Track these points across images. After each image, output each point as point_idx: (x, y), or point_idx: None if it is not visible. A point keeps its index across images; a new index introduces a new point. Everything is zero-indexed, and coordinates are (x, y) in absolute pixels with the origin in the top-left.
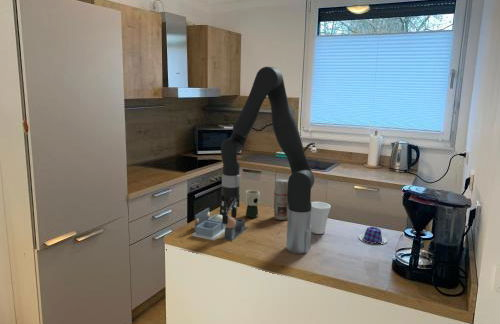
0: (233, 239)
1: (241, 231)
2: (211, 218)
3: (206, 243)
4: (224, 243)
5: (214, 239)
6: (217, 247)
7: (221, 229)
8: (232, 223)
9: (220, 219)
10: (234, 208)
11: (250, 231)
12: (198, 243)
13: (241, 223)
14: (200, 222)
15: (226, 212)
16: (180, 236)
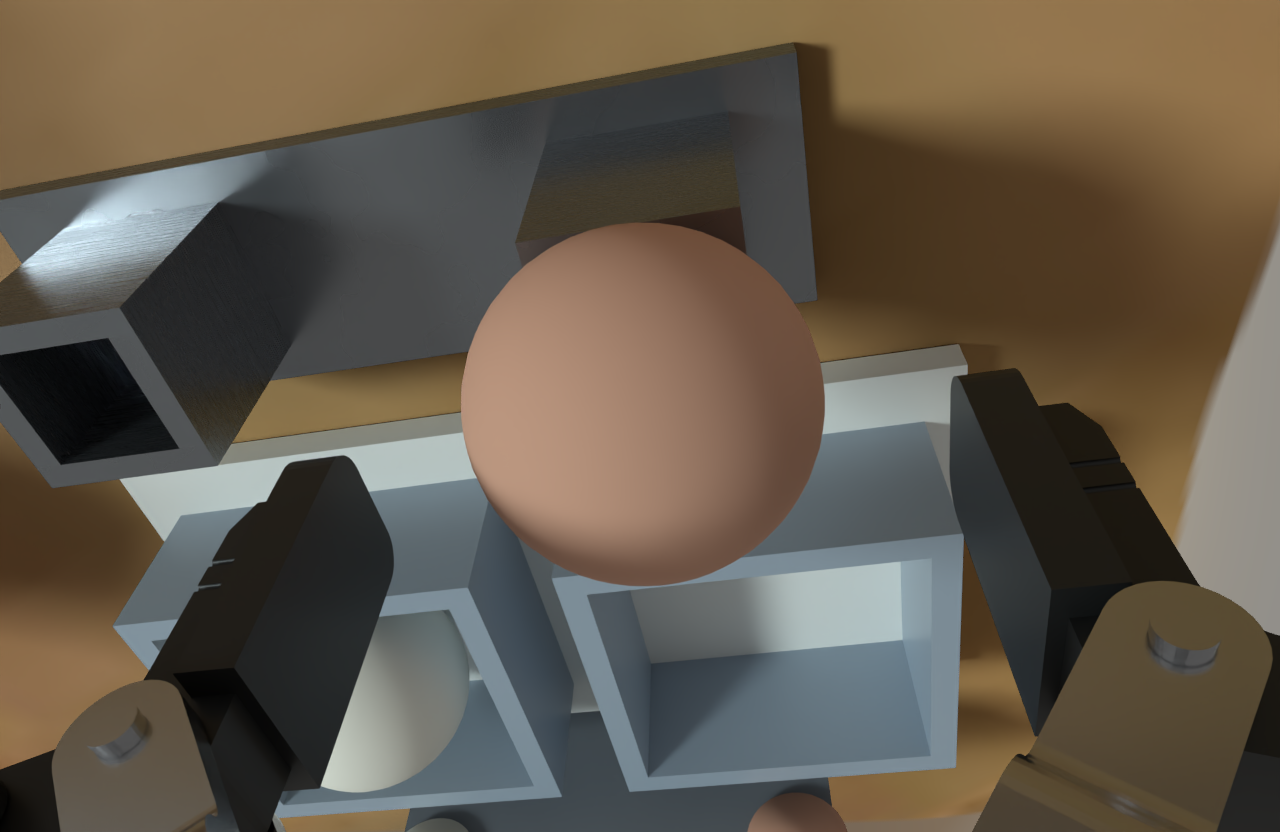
0: (715, 59)
1: (257, 168)
2: (451, 778)
3: (1143, 371)
4: (999, 102)
5: (952, 355)
6: (1274, 93)
7: None
8: (740, 291)
9: (400, 679)
10: (229, 773)
11: (28, 29)
12: (1192, 462)
13: (139, 291)
14: (685, 796)
15: (1240, 765)
16: None
